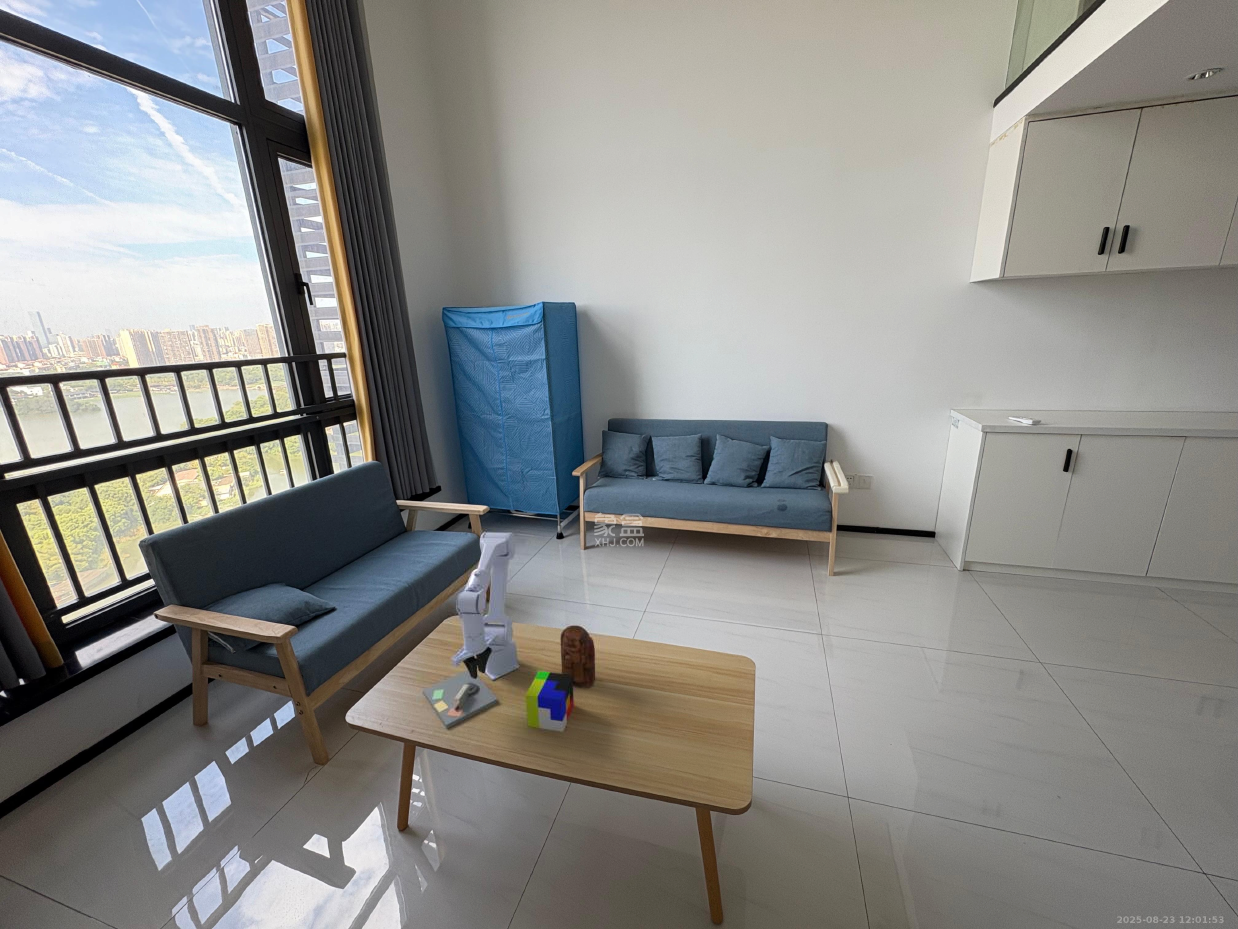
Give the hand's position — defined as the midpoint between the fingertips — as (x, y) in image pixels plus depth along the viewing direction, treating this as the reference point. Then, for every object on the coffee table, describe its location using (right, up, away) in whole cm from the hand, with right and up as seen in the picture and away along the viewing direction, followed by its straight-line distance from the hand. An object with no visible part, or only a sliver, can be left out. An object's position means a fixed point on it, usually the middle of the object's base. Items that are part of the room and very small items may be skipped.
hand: (477, 674), depth 138 cm
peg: (-5, -8, +3) cm, 10 cm away
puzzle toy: (+21, -11, -2) cm, 24 cm away
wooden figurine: (+27, -7, +12) cm, 31 cm away
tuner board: (-7, -9, +5) cm, 12 cm away
